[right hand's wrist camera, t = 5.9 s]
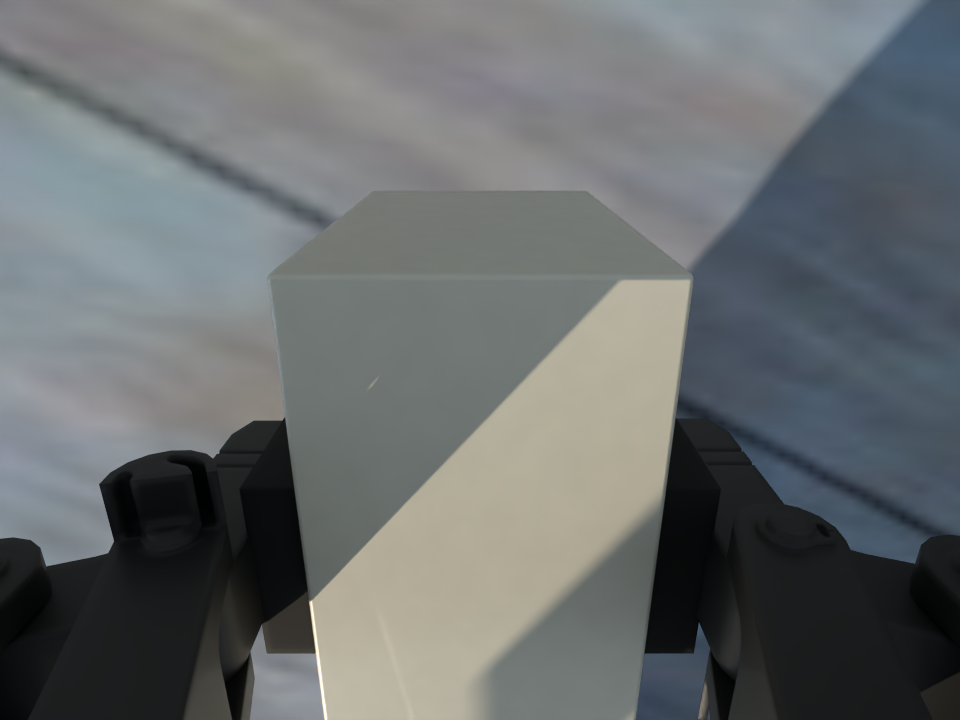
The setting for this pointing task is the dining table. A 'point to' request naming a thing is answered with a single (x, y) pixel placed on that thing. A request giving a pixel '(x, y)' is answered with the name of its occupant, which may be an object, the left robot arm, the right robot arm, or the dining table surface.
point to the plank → (480, 450)
